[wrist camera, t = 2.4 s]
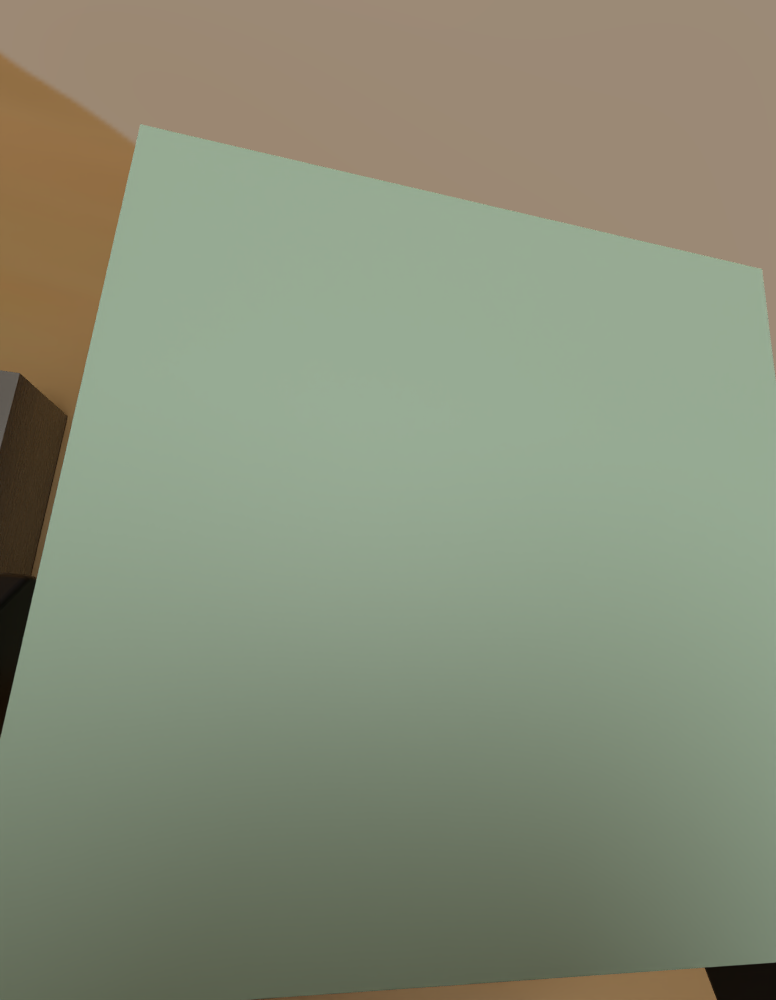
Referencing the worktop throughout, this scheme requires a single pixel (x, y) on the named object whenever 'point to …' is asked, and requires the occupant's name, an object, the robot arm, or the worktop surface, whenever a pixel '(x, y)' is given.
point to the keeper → (25, 468)
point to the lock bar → (394, 604)
